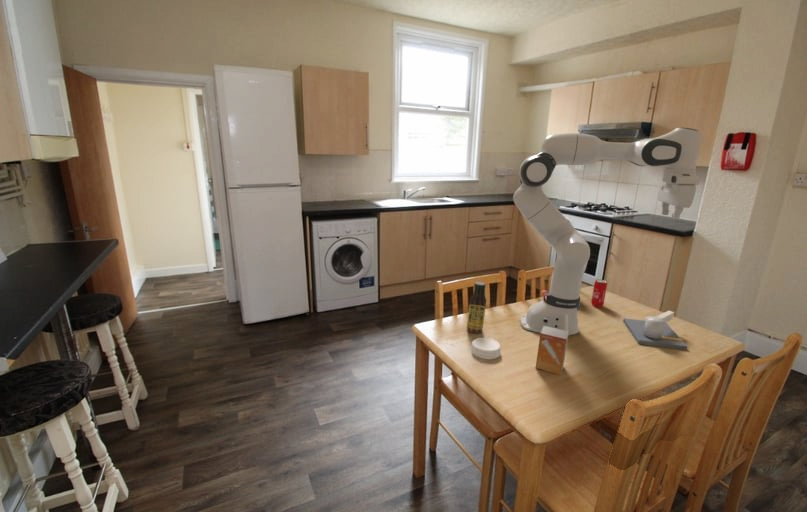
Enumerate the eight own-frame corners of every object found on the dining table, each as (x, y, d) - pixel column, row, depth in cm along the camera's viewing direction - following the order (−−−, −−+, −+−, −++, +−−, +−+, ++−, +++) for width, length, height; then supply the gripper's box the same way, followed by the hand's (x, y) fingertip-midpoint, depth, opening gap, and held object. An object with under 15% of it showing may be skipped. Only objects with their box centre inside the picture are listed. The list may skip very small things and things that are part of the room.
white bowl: (504, 351, 137) (505, 342, 136) (494, 363, 129) (495, 354, 128) (477, 343, 143) (478, 334, 142) (466, 354, 135) (467, 345, 134)
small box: (535, 368, 126) (539, 332, 123) (538, 359, 132) (543, 325, 128) (561, 375, 123) (567, 339, 119) (563, 366, 128) (569, 330, 124)
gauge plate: (637, 343, 144) (638, 339, 144) (623, 321, 163) (623, 317, 162) (686, 350, 140) (687, 345, 140) (665, 326, 159) (666, 322, 159)
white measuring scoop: (657, 340, 143) (660, 324, 141) (640, 334, 148) (643, 318, 146) (676, 329, 152) (679, 314, 151) (659, 323, 157) (663, 308, 155)
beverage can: (604, 308, 176) (608, 283, 173) (592, 306, 177) (596, 282, 174) (601, 303, 181) (605, 279, 178) (589, 302, 182) (593, 278, 179)
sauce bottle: (466, 332, 150) (469, 284, 144) (467, 325, 156) (470, 279, 150) (483, 335, 148) (487, 286, 143) (483, 327, 154) (487, 281, 149)
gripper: (657, 175, 143) (649, 212, 147) (679, 179, 124) (670, 221, 128) (676, 175, 141) (668, 213, 145) (702, 179, 122) (692, 222, 126)
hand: (669, 216), depth 136 cm, fingers open, 8 cm apart
